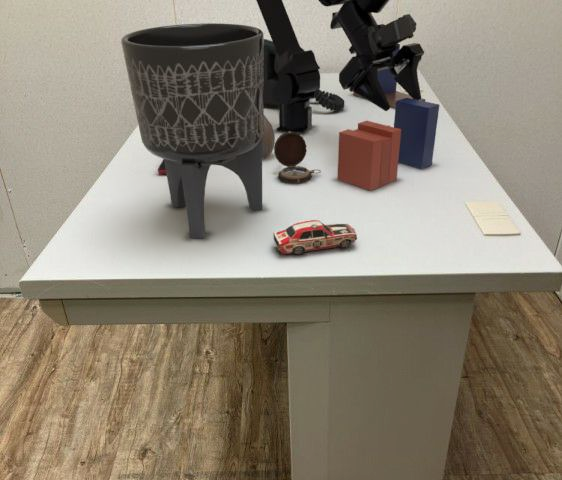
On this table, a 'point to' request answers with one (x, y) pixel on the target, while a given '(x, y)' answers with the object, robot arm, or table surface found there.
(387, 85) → the navy books
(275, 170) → the table surface
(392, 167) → the brick-red books
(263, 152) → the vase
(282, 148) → the compass
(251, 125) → the planter
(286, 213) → the table surface
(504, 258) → the table surface
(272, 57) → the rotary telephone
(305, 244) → the race car
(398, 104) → the navy book
